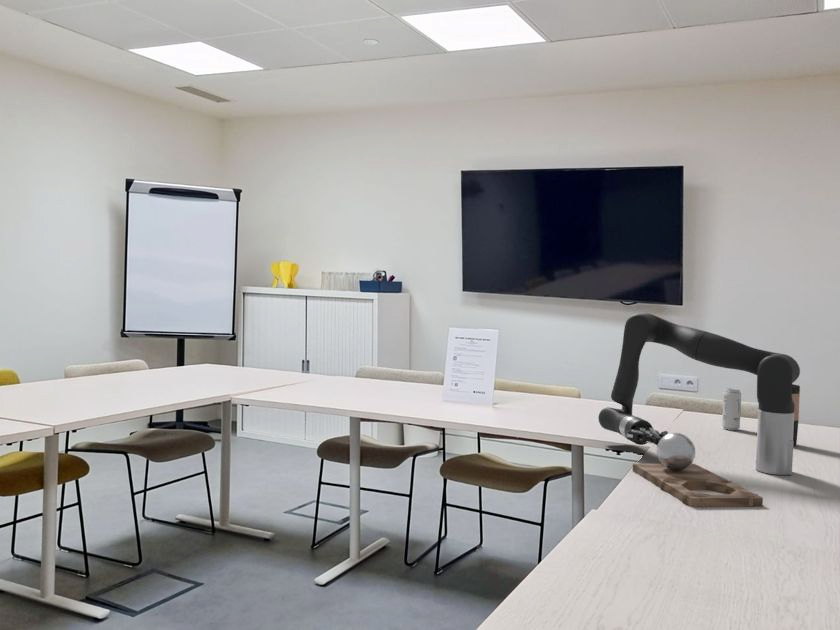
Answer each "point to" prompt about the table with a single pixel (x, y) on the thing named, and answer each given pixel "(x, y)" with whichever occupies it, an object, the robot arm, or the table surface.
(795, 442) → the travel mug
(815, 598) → the table surface
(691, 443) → the steel ball
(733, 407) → the energy drink can
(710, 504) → the wooden board
